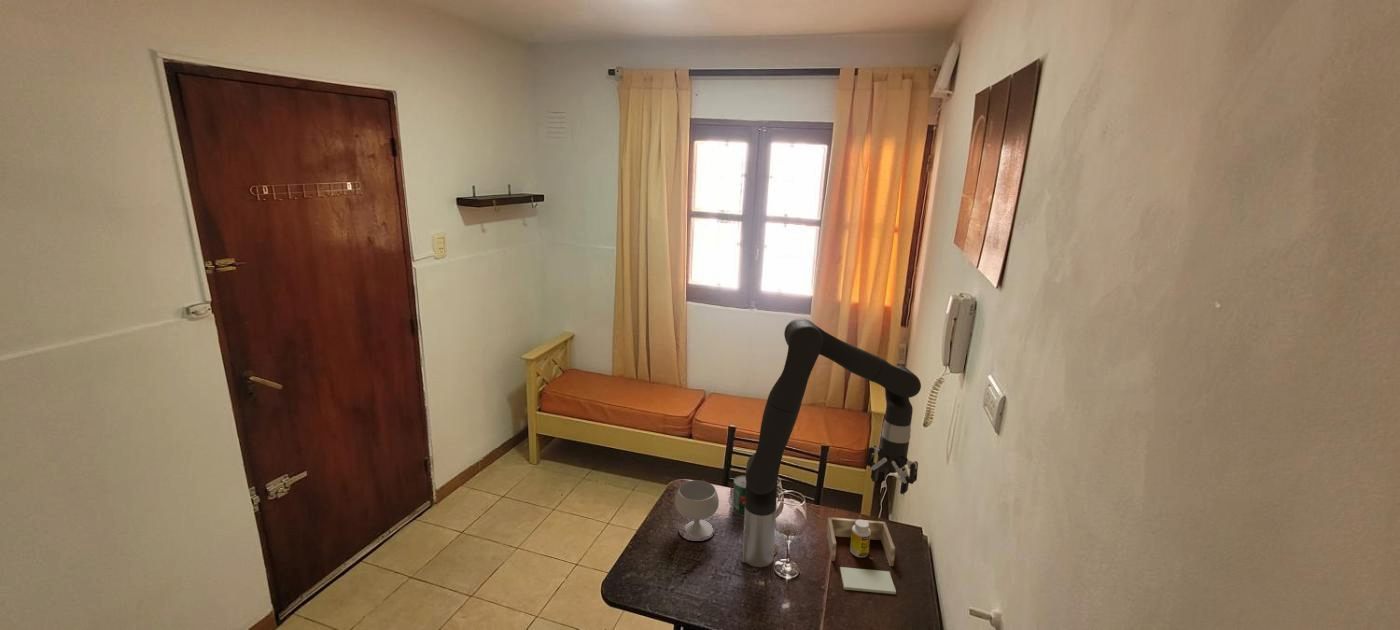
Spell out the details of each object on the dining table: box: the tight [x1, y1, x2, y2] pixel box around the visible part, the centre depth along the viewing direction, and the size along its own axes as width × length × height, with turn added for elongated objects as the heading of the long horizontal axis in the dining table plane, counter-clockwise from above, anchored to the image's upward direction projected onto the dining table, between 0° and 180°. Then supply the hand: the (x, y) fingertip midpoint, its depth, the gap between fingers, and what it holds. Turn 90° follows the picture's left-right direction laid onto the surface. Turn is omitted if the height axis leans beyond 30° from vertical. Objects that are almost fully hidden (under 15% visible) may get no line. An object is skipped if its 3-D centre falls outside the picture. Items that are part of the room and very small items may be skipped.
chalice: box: [674, 479, 720, 537], centre depth 169 cm, size 14×14×15 cm
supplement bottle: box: [849, 519, 871, 558], centre depth 160 cm, size 6×6×10 cm
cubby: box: [826, 516, 896, 567], centre depth 162 cm, size 18×13×6 cm
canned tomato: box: [732, 475, 746, 517], centre depth 181 cm, size 8×8×11 cm
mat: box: [839, 566, 897, 595], centre depth 149 cm, size 14×8×1 cm, turn 83°
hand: (888, 486), depth 153 cm, fingers open, 8 cm apart
